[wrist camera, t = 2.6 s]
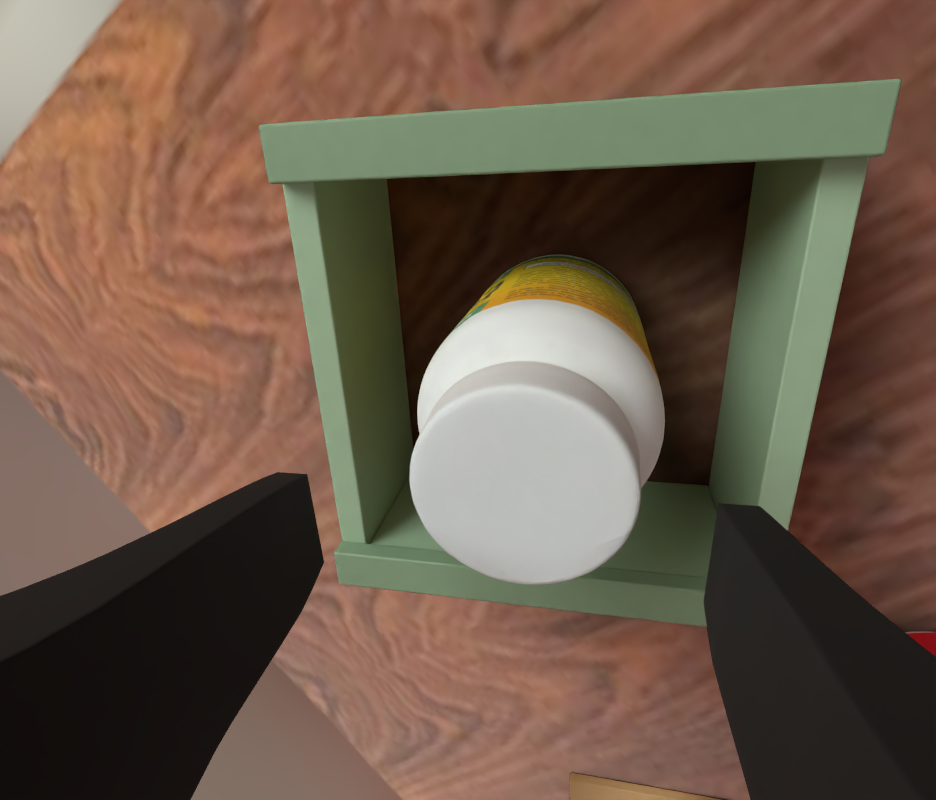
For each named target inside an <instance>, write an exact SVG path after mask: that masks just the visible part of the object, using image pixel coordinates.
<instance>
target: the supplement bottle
mask: <svg viewBox="0 0 936 800" xmlns="http://www.w3.org/2000/svg"><path fill="white" fill-rule="evenodd" d="M417 418H418V428H419V434H420V435H419V437H418V439H417V441H416V444H415V447H414V450H413V453H412V457H411V462H410V480H409V482H410V489H411V495H412V499H413V503H414V505H415V508H416V510H417V513H418V515H419V517H420V519H421V521H422V523H423V525H424V527H425V528H426V530H427V531H428V532H429V534H430V535H431V536H432V538H433V539H434V540H435V541H436V542H437V543H438V544H439V545H440V546H441V547H442V548H443V549H444V550H445V551H446V552H447V553H448V554H449V555H451V556H452V557H454V558H455V559H457V560H458V561H459V562H461V563H463V564H464V565H466V566H468V567H470V568H471V569H473V570H475V571H477V572H480V573H482V574H484V575H487V576H489V577H492V578H495V579H498V580H502V581H507V582H512V583H519V584H535V585H536V584H552V583H559V582H564V581H569V580H572V579H575V578H577V577H580V576H582V575H585V574H587V573H590V572H591V571H593V570H595V569H597V568H598V567H599V566H601V565H602V564H604V563H605V562H606V561H608V560H609V559H610V558H611V557H612V556H613V555H614V554H615V553H616V552H617V551H618V550H619V549H620V548H621V547H622V546H623V544H624V543H625V541H626V540H627V539H628V537H629V535H630V533H631V531H632V529H633V527H634V525H635V522H636V520H637V517H638V513H639V508H640V503H641V488H642V487H643V485H644V484H645V482H646V481H647V479H648V478H649V476H650V475H651V473H652V471H653V469H654V467H655V465H656V462H657V460H658V457H659V454H660V451H661V447H662V443H663V439H664V428H665V411H664V403H663V397H662V392H661V387H660V383H659V378H658V375H657V372H656V369H655V367H654V363H653V360H652V357H651V354H650V351H649V348H648V344H647V341H646V338H645V334H644V330H643V327H642V323H641V320H640V317H639V314H638V311H637V309H636V306H635V304H634V302H633V300H632V298H631V296H630V294H629V293H628V291H627V290H626V289H625V287H624V286H623V285H622V284H621V282H620V281H619V280H618V279H617V278H616V277H615V276H614V275H613V274H611V273H610V272H609V271H607V270H606V269H605V268H603V267H601V266H599V265H598V264H596V263H594V262H591V261H589V260H586V259H583V258H580V257H576V256H571V255H562V254H554V255H546V256H540V257H536V258H533V259H530V260H527V261H525V262H522V263H520V264H518V265H516V266H515V267H513V268H511V269H509V270H508V271H506V272H505V273H504V274H502V275H501V276H500V277H499V278H498V279H497V280H496V281H495V282H494V283H492V285H491V286H490V287H489V288H488V289H487V290H486V292H485V293H484V294H483V295H482V297H481V298H480V299H479V300H478V301H477V302H476V304H475V305H474V306H473V307H472V308H471V310H470V311H469V312H468V313H467V314H466V315H465V317H464V318H463V319H462V320H461V321H460V323H459V324H458V325H457V326H456V327H455V328H454V329H453V331H452V332H451V333H450V334H449V335H448V336H447V338H446V339H445V340H444V341H443V343H442V344H441V345H440V347H439V348H438V350H437V351H436V353H435V354H434V356H433V358H432V359H431V361H430V363H429V365H428V367H427V369H426V372H425V374H424V377H423V380H422V383H421V387H420V392H419V397H418V407H417Z"/></svg>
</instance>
